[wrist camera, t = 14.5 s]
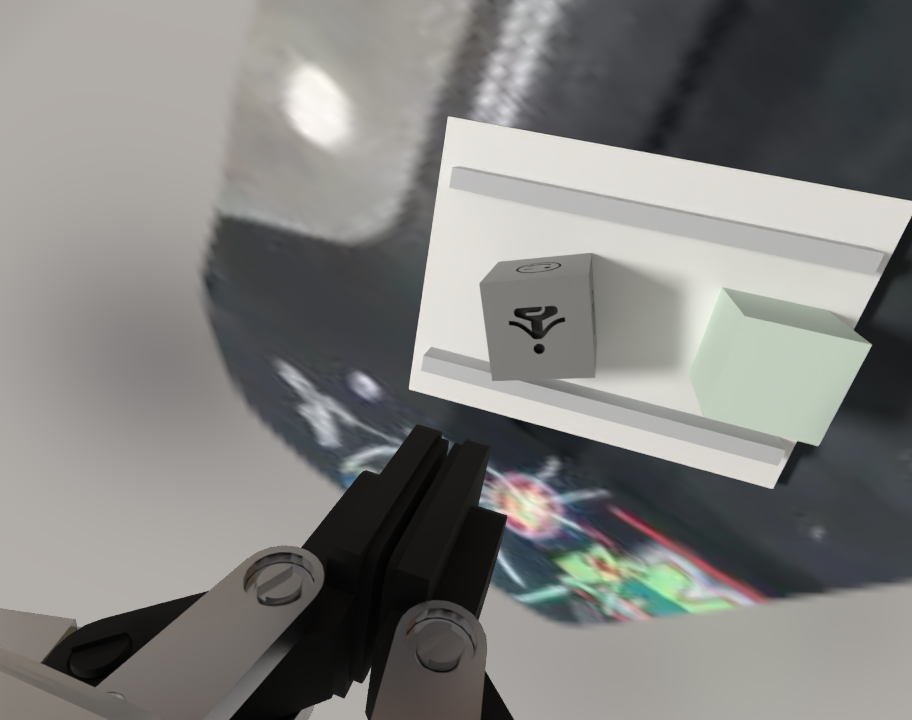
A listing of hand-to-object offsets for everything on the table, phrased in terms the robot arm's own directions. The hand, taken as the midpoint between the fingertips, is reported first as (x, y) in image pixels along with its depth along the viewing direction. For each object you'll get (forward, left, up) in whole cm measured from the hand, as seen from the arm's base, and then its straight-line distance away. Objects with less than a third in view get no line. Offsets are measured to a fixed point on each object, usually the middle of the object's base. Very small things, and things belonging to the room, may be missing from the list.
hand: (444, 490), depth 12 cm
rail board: (-4, +1, -21) cm, 21 cm away
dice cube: (-1, +1, -20) cm, 20 cm away
